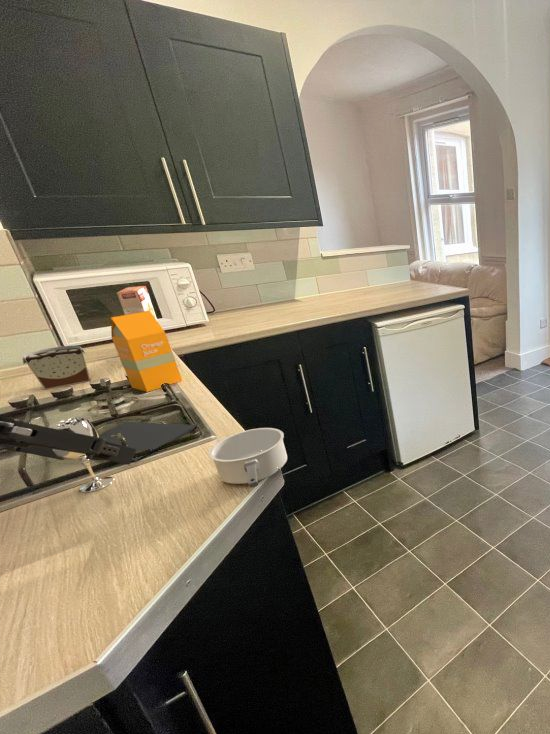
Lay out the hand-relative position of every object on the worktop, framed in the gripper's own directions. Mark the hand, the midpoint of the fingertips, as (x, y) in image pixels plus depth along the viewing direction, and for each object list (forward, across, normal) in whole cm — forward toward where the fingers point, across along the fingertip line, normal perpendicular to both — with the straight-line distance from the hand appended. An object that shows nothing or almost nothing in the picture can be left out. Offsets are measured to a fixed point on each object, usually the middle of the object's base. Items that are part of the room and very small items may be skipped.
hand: (98, 454), depth 73 cm
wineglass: (+2, 0, -5) cm, 5 cm away
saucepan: (+5, +28, -2) cm, 28 cm away
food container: (+32, -62, +25) cm, 74 cm away
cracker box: (+56, -71, +49) cm, 103 cm away
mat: (+12, -9, +5) cm, 16 cm away
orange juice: (+32, -34, +26) cm, 54 cm away
